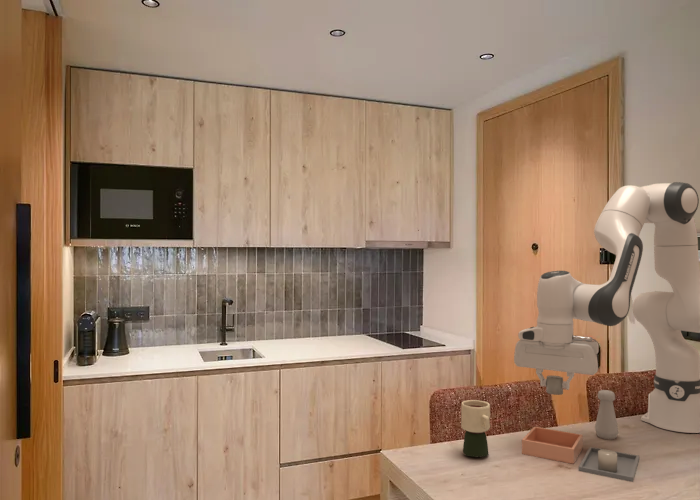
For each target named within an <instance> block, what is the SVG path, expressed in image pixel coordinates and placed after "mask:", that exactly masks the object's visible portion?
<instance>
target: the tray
mask: <svg viewBox="0 0 700 500" xmlns="http://www.w3.org/2000/svg"><path fill="white" fill-rule="evenodd" d="M599 450H606V449H604V448H600V447H593V446H589V447H588V449H587V451H586V453H585V454H584V456H583V458H582V460H581V462H580V463H579V465H578V472H583V473H587V474H592V475H598V476H602V477H607V478H612V479H617V480H621V481H627V482H631V483H634V479H635V476H636V472H637V469H638V465H639V462H640V455H638V454H637V455H636V454H633V453H632V454H631V453H627V452H621V451H617V450H613V451H614V452H616V453H617V472H616V473H612V472H607V471H602V470H599V469H598V451H599Z"/></svg>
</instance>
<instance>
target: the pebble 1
mask: <svg viewBox="0 0 700 500" xmlns="http://www.w3.org/2000/svg"><path fill="white" fill-rule="evenodd" d="M546 379H547V386H546V387H545V388H546V390H545V392H546V393H547V394H549V395H554V396H555V395H556V396H561V395H564V389H562V382H563V381H564V377H563V376H561V375H560V376H559V375H547V376H546Z"/></svg>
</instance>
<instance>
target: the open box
mask: <svg viewBox="0 0 700 500" xmlns="http://www.w3.org/2000/svg"><path fill="white" fill-rule="evenodd" d="M583 449H584V434H582V433H581V434H580V433H576V432H574V433H573V432H570V431H569V432H568V431H563V430H558V429H552V428H546V427H541V426H534V427H532V428H531V430H530V431H529V432H528V433H527V434H526V435H525V436H524V437H523V438H522V439H521V454H522V455H525V456H531V457H534V458H540V459H545V460H551V461H554V462H555V461H556V462H560V463H566V464H569V465H570V464H571V465H574V464H575V463H576V462H577V460H578V458H579V456H580V454H581V453H582V450H583Z"/></svg>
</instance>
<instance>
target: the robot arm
mask: <svg viewBox="0 0 700 500" xmlns="http://www.w3.org/2000/svg"><path fill="white" fill-rule="evenodd" d="M699 199H700V198H699V195H698V192H697V190H696V189H695V187H693V185H691V184H690V183H687V182H681V181H680V182H679V181H674V182H669V183H668V182H663V183H662V182H661V183H660V182H659V183H652V184H648V185H643V186H637V185H633V184H632V185H631V184H629V185H628V184H627V185H624V186H621V187H618V189H617V190H616V191H615V192H614V193H613V195H612V196H611V197H610V199H608V201H607V203H606V204H605V206H604V208H603V209H602V210H601V212H600V215H599V216H598V219H597V220H596V222H595V225H594V228H593V229H594V231H593V234H594V237H595V239H596V241H597V243H598V244H599V246H601V247H602V248H603V249H605V250H606V251H608V252H609V253H611V254H613V255H615V261H614V263H613V267H612V270H611V272H610V276H609V279H608V280H607V281H606V282H604V283H602V284H601V283H600V284H592V283H591V284H590V283H584V282H581V281H579V280H578V279H576V278H574V277H573V276H572V274H571V272H570V271H566V270H551V271H547V272H545V273H543V274H541V275H540V277H539V280H538V284H537V288H536V289H537V292H536V306H537V310H538V316H537V318H536V326H532V327H528V328H524V329H522V330H519V332H518V335H517V336H518V339H519V340H518V341H517V342H516V343H515V348H514V354H513V361H514V362H513V363H514V364H515V366H516V367H519V368H526V369H527V368H529V369H535V374H536V375H537V378H538V379H539V381H540V384H539V385H540V386H539V387H544V388H546V386H547V378H546V377H544V375H543V372H544V371H545V370H546V371H552V372H553V371H554V372H555V371H556V372H561V373H562V372H563V373H566V377H568V378H567V380H563V382H562V389H563V390H565V391H566V390H567V391H569V390H570V386H571V385H570V383H571V382H572V380H573V378H574V376H575V374H579V375H588V376H589V375H590V376H594V375H595V374H596V373H597V372H598V371H599V363H598V362H599V361H598V353H599V352H600V349H599V347H600V344H599V342H598V341H597V340H596V339H595V338H593V337H592V336H582V335H574V320H580V321H583V322H590V323H596V324H600V325H602V326H607V327H614V326H617V325H618V324H620V323H621V322H622V321H624V320H625V319H626V318H627V316H628V314H629V311H630V307H631V297H632V292H633V288H634V285H635V281H636V278H637V274H638V270H639V268H640V264H641V260H642V256H643V251H644V243H643V241H642V238H640V234H641V231H642V228H643V227H644V225H645V224H653V225H654V226H655V227H654V235H653V237H654V238H653V245H654V246H653V250H654V251H653V253H654V254H653V257H654V258H653V259H654V271H655V272H656V274H657V275H658V276H659V277H660V278H662V279H664V280H665V281H666V282H668V284H669V285H670V287H671V289H672V292H671V291H661V290H659V291H658V290H655V291H647V292H641V293H639V294H638V295H637V296H636V297H635V299H634V300H633V303H632V314H633V316H634V318H635V320H636V321H637V322H639V324H641V325H642V327H643V328H644V329H645V330H646V331H647V333H648V334H649V336H650V339H651V342H652V344H653V348H654V355H655V375H654V378H653V386H654V389H653V390H652V391H650V393H648V399H647V400H648V403H647V404H648V405H647V412H646V413H644V414H643V415H641V418H640V420H641V421H643V422H646V423H648V424H651V425H653V426H655V427H657V428H660V429H664V430H667V431H671V432H679V433H688V434H689V433H691V434H696V433H697V434H698V433H700V353H699V351H698V349H697V348H696V347H695V346H693V345H692V344H690V343H689V342H688V341H687V340H686V339H685V338H684V336H683V333H682V331H683V332H689V333H690V332H691V333H698V334H700V260H699V259H700V257H699V240H698V239H699V238H698V232H697V231H698V230H697V226H696V222H695V221H696V220H695V217H694V216H695V214H696V212H697V210H698V208H699V204H700V203H699V201H700V200H699Z"/></svg>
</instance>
